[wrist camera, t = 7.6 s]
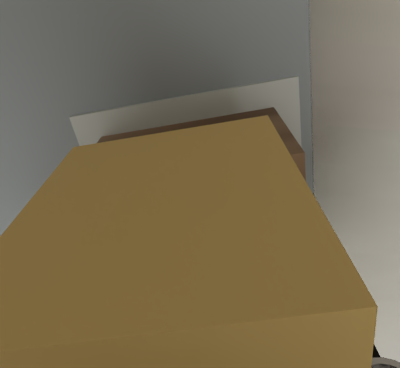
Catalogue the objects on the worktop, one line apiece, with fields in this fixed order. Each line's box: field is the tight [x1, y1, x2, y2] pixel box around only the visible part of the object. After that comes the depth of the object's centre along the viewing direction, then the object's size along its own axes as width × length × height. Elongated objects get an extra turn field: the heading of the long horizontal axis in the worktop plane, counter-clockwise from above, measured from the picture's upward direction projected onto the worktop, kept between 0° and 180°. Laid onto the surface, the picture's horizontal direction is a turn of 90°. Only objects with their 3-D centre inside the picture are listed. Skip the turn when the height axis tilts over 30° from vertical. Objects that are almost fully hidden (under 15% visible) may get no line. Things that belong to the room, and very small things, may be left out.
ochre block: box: [0, 115, 378, 368], centre depth 7 cm, size 5×5×6 cm
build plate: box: [0, 0, 314, 236], centre depth 14 cm, size 18×15×1 cm
